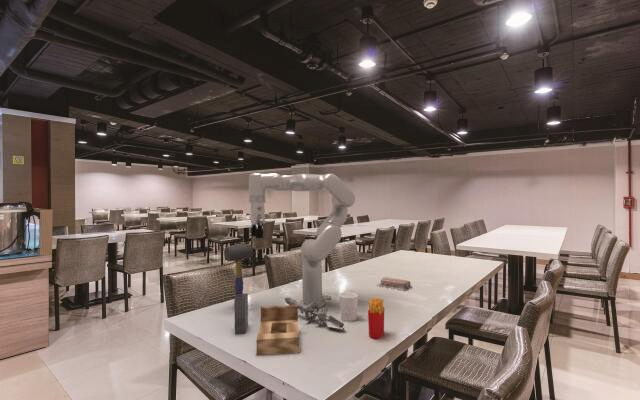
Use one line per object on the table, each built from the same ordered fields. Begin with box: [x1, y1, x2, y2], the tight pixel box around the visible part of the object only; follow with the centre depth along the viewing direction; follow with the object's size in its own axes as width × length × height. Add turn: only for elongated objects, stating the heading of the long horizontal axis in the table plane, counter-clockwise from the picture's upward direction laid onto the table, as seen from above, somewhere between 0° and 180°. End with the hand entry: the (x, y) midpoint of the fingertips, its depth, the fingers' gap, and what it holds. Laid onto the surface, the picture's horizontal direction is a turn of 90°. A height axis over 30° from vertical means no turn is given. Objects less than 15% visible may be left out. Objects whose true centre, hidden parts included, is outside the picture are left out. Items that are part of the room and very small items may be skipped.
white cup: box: [338, 291, 359, 322], centre depth 134 cm, size 8×8×10 cm
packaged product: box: [376, 276, 413, 292], centre depth 183 cm, size 18×5×10 cm
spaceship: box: [284, 296, 346, 330], centre depth 131 cm, size 8×35×8 cm
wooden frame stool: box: [256, 304, 301, 356], centre depth 112 cm, size 14×18×10 cm
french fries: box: [367, 297, 385, 340], centre depth 117 cm, size 9×4×13 cm, turn 145°
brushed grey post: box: [233, 293, 249, 335], centre depth 123 cm, size 4×8×13 cm, turn 6°
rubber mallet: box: [223, 243, 254, 297], centre depth 150 cm, size 12×8×30 cm, turn 132°
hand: (256, 237), depth 145 cm, fingers open, 9 cm apart
